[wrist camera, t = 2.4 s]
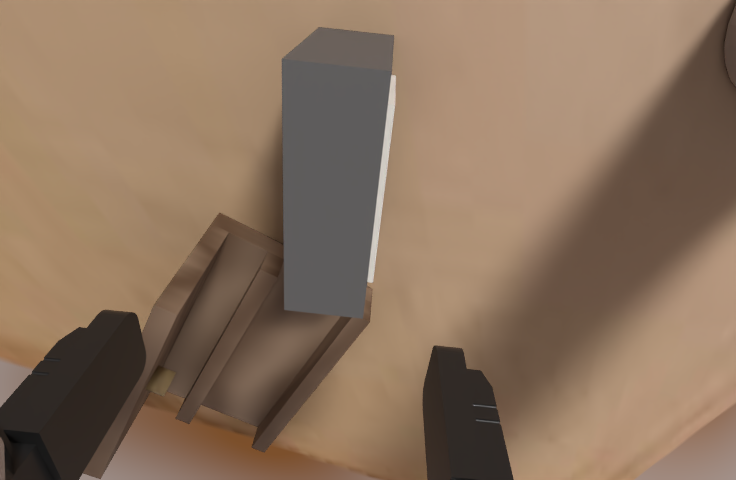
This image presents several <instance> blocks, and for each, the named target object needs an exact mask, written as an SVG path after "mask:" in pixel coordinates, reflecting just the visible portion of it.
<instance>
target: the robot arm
mask: <svg viewBox="0 0 736 480" xmlns="http://www.w3.org/2000/svg"><path fill="white" fill-rule="evenodd" d="M724 49H725V65H726V68H727V71H728V74H729V77H730V80H731V81H732V82H733V84H734V85H735V87H736V5H735V8H734V11H733V13H732V16H731V18H730V21H729V23H728V28H727V33H726V38H725V44H724ZM145 363H146V350H145V346H144V341H143V337H142V333H141V329H140V325H139V320H138V317H137V315H136V314H135V313H132V312H122V311H113V310H103V311H101V312H100V313H99V314H98V315H97V316H96V317H95V319H94V320H93V321H92V322H91V323H90V325H89V326H88V327H87V328H81V327H79V328H77V329H76V330H74V331H73V332H71V333H70V334H68V335H67V336H65V337H64V338H62V339H61V340H59V341H58V342H57V343H56V344H55V346H54V347H53V348H52V349H51V350H50V351H49V352H48V354H47V355H46V356H45V357H44V360H43V361H41V362H40V363H39V364H38V365H37V366H36V367H35V368H34V370H33V371H32V374H31V375H28V377H27V378H26V379H25V380H24V381H23V382H22V383H21V385H20V386H19V387H18V388H17V389H16V390H15V391H14V393H13V394H12V395H11V396H10V397H9V398H8V399H7V401H6V402H5V403H4V404H3V405H2V407H0V480H79V478H80V477H81V475H82V473H83V472H84V470H85V468H86V467H87V465H88V463H89V462H90V460H91V458H92V457H93V455H94V453H95V452H96V450H97V448H98V447H99V445H100V443H101V442H102V440H103V438H104V437H105V435H106V433H107V432H108V430H109V428H110V427H111V425H112V423H113V422H114V420H115V418H116V417H117V415H118V413H119V412H120V410H121V408H122V407H123V405H124V403H125V402H126V400H127V399H128V397H129V395H130V394H131V392H132V390H133V389H134V387H135V385H136V384H137V382H138V380H139V379H140V377H141V375H142V373H143V370H144V367H145ZM423 418H424V433H425V448H426V463H427V478H428V480H513V475H512V471H511V467H510V462H509V458H508V454H507V449H506V445H505V441H504V436H503V432H502V428H501V425H500V419H499V415H498V410H497V409H496V402H495V397H494V393H493V389H492V386H491V385H490V383H489V382H488V381H487V379H486V378H485V376H484V375H483V373H482V372H481V371H480V370H471V369H467V368H466V363H465V357H464V352H463V350H462V348H453V347H444V346H434V347H433V350H432V354H431V358H430V362H429V366H428V370H427V374H426V378H425V382H424V388H423Z"/></svg>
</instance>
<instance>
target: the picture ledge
mask: <svg viewBox="0 0 736 480" xmlns="http://www.w3.org/2000/svg"><path fill="white" fill-rule="evenodd" d="M371 302H372V289H371V288H369V287H367V288H366V297H365V305H364V314H363V319H361V318H352V317H343V316H334V315H325V314H316V313H307V312H298V311H289V310H284V245H283V244H281V243H279V242H277V241H275V240H273V239H271V238H269V237H267V236H265V235H263V234H261V233H259V232H257V231H255V230H253V229H251V228H249V227H247V226H245V225H243V224H241V223H239V222H237V221H235V220H233V219H231V218H229V217H227V216H225V215H223V214H221V213H219V214H218V215H217V217H216V218H215V220H214V221H213V222H212V224H211V225H210V227H209V228H208V230H207V231H206V232H205V234H204V235H203V237H202V238H201V239H200V241H199V242H198V244H197V245H196V246H195V248H194V249H193V251H192V252H191V253H190V255H189V256H188V258H187V259H186V261H185V262H184V263H183V265H182V266H181V268H180V269H179V270H178V272H177V273H176V275H175V276H174V277H173V279H172V280H171V282H170V283H169V284H168V286H167V287H166V289H165V290H164V291H163V293H162V294H161V296H160V297H159V299H158V300H157V301H156V303H155V304H154V306H153V308H152V311H151V313H150V316H149V318H148V320H147V323H146V325H145V327H144V330H143V332H142V337H143V341H144V346H145V350H146V363H145V367H144V370H143V373H142V375H141V377H140V379H139V380H138V382H137V384H136V385H135V387H134V389H133V390H132V392H131V394H130V395H129V397H128V399H127V400H126V402H125V403H124V405H123V407H122V408H121V410H120V412H119V413H118V415H117V417H116V418H115V420H114V422H113V423H112V425H111V427H110V428H109V430H108V432H107V433H106V435H105V437H104V438H103V440H102V442H101V443H100V445H99V447H98V448H97V450H96V452H95V453H94V455H93V457H92V458H91V460H90V462H89V463H88V465H87V467H86V468H85V470H84V472H83V473H84V474H87V475H90V476H93V477H96V478H99V479H101V477H102V475H103V473H104V472H105V470H106V468H107V467H108V465H109V463H110V461H111V460H112V458H113V456H114V454H115V453H116V451H117V449H118V447H119V446H120V444H121V442H122V440H123V439H124V437H125V435H126V433H127V432H128V430H129V428H130V427H131V425H132V423H133V421H134V419H135V418H136V416H137V414H138V413H139V411H140V409H141V407H142V406H143V404H144V402H145V400H146V399H147V397H148V395H149V394H150V392H153V393H156V394H158V395H161V396H163V397H164V395H165V393H166V391H167V392H170V393H173V394H175V395H178V396H180V397H183V398H185V400H184V402H183V404H182V406H181V408H180V410H179V412H178V415H177V417H176V419H178V420H180V421H183V422H185V423H188V424H190V422H191V420H192V419H193V417H194V415H195V414H196V412H197V410H198V409H199V407H200V405H203V406H206V407H208V408H211V409H213V410H216V411H218V412H221V413H224V414H226V415H229V416H231V417H234V418H236V419H239V420H241V421H244V422H246V423H249V424H252V425H254V426H257V427H258V428H257V431H256V434H255V438H254V441H253V445H252V448H254V449H257V450H259V451H262V452H265V451H266V450H267V448H268V447H269V446H270V445H271V444H272V442H273V441H274V440H275V439H276V437H277V436H278V435H279V434H280V432H281V431H282V430H283V429H284V427H285V426H286V425H287V424H288V423H289V421H290V420H291V419H292V418H293V416H294V415H295V414H296V413H297V411H298V410H299V409H300V408H301V406H302V405H303V404H304V403H305V402H306V400H307V399H308V398H309V397H310V395H311V394H312V393H313V392H314V390H315V389H316V388H317V387H318V385H319V384H320V383H321V382H322V380H323V379H324V378H325V377H326V376H327V374H328V373H329V372H330V371H331V369H332V368H333V367H334V366H335V364H336V363H337V362H338V361H339V359H340V358H341V357H342V356H343V355H344V353H345V352H346V351H347V350H348V348H349V347H350V346H351V345H352V343H353V342H354V341H355V340H356V338H357V337H358V336H359V335H360V333H361V332H362V331H363V330H364V329H365V327H366V326H367V325H368V324H369V322H370V314H371Z"/></svg>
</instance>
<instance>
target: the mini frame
mask: <svg viewBox="0 0 736 480" xmlns="http://www.w3.org/2000/svg"><path fill="white" fill-rule="evenodd" d="M393 45H394V35H385V34H376V33H367V32H358V31H349V30H340V29H331V28H322V27H319V28H318V29H316V30H315V31H314V32H313V33H312V34H311V35H309V36H308V37H307V38H306V39H305V40H304V41H302V42H301V43H300V44H299V45H298V46H296V47H295V48H294V49H293V50H292V51H291V52H289V53H288V54H287V55H286V56H285V57H283V58H282V131H283V234H284V310H289V311H298V312H307V313H316V314H325V315H334V316H343V317H352V318H361V319H363V314H364V305H365V297H366V288H367V282H372V283H373V278H374V270H375V262H376V254H377V246H378V238H379V230H380V222H381V214H382V206H383V198H384V190H385V182H386V174H387V166H388V158H389V150H390V142H391V134H392V126H393V118H394V110H395V90H396V75H391V74H392V60H393Z"/></svg>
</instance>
